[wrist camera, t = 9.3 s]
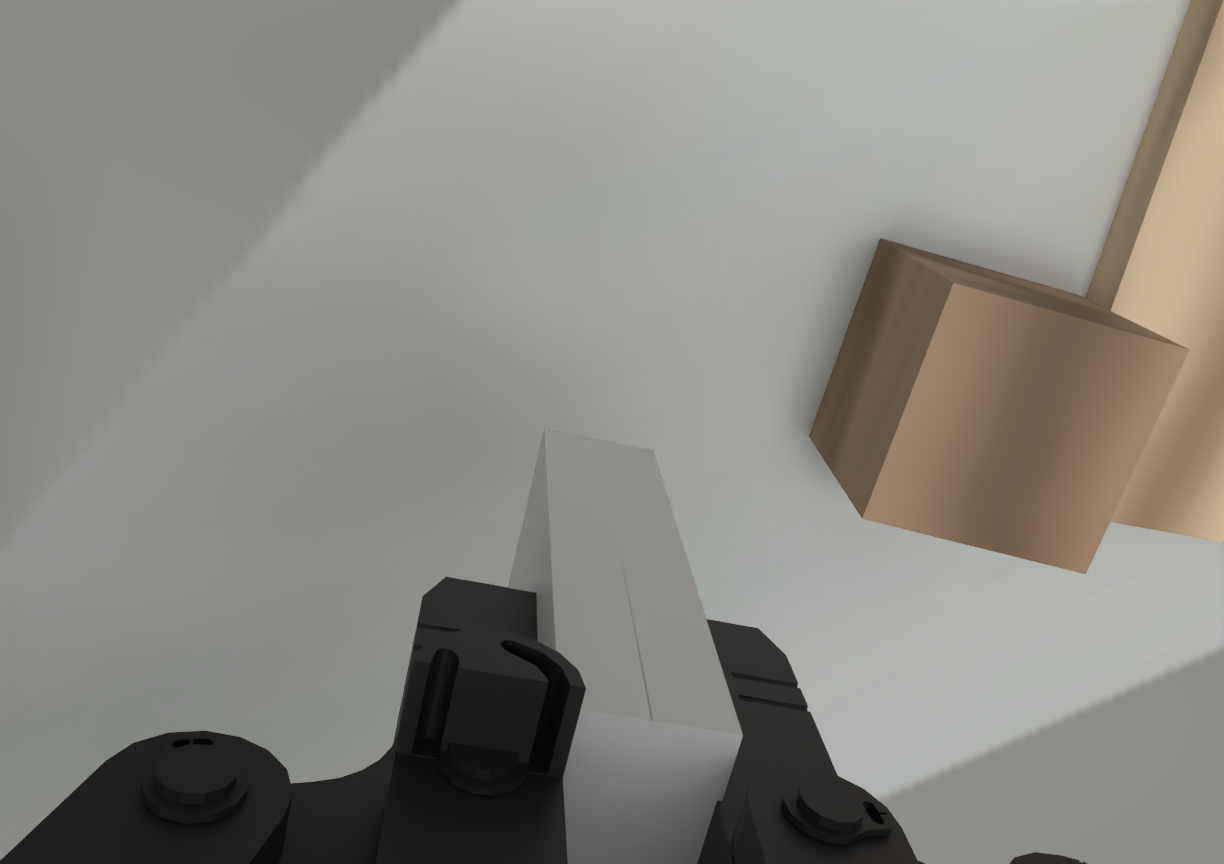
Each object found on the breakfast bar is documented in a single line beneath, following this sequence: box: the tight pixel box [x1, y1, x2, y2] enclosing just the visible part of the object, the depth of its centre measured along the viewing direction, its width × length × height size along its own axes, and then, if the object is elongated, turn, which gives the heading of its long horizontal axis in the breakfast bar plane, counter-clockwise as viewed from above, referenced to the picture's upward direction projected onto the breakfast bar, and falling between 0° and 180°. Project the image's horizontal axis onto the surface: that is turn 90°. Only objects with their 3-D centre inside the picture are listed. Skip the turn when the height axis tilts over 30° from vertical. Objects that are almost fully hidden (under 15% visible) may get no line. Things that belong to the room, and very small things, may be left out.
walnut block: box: [809, 238, 1190, 574], centre depth 29 cm, size 6×6×6 cm
